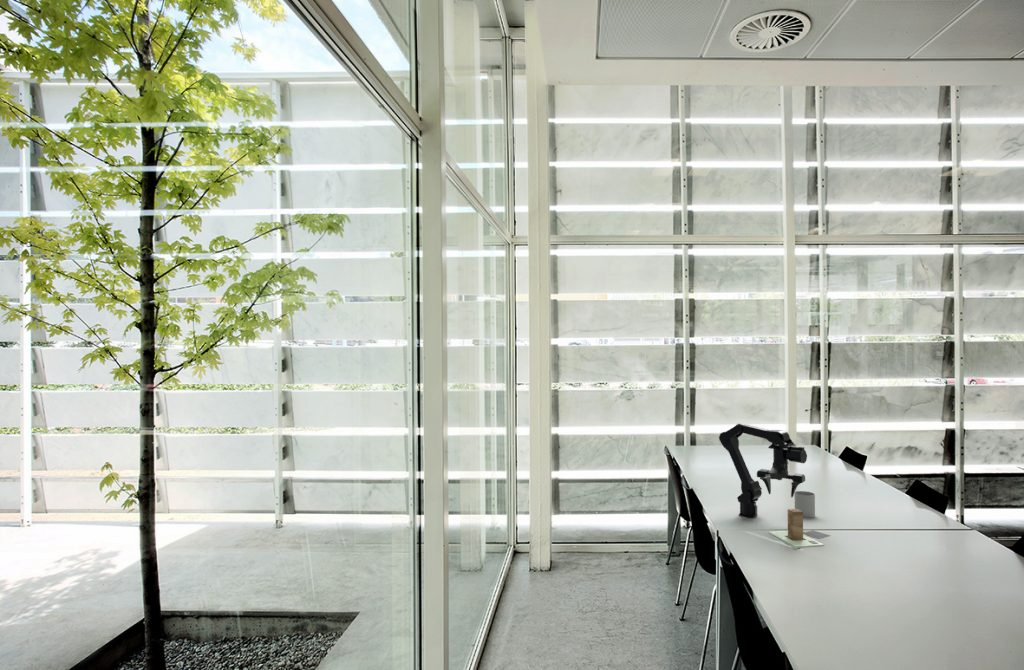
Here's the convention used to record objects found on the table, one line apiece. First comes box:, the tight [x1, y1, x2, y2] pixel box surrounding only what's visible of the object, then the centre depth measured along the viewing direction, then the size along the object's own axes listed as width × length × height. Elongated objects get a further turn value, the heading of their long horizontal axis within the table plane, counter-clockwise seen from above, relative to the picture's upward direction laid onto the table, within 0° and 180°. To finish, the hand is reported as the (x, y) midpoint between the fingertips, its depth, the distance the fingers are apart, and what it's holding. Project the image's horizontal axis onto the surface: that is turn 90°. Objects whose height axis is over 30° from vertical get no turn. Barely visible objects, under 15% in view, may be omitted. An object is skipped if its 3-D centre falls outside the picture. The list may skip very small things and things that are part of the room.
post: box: [787, 508, 804, 541], centre depth 241 cm, size 4×4×12 cm
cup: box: [794, 490, 816, 519], centre depth 275 cm, size 8×8×10 cm
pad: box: [803, 529, 832, 540], centre depth 247 cm, size 8×8×1 cm
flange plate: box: [768, 529, 825, 550], centre depth 241 cm, size 18×12×1 cm, turn 9°
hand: (780, 495), depth 264 cm, fingers open, 9 cm apart
